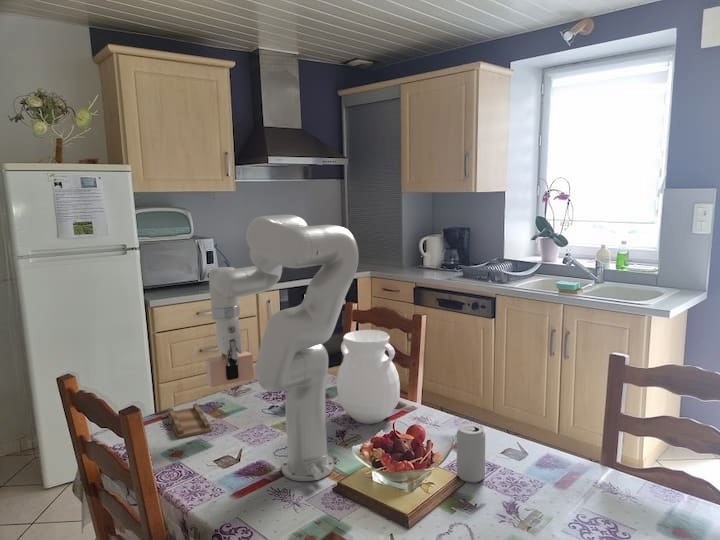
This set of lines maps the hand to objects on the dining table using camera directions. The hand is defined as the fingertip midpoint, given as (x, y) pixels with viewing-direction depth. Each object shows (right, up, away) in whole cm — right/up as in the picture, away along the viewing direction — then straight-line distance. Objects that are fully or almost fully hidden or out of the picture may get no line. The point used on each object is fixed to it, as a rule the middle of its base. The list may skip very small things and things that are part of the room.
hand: (230, 375), depth 149 cm
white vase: (+39, -14, +9) cm, 42 cm away
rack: (-14, -15, +8) cm, 22 cm away
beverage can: (+62, -19, -25) cm, 69 cm away
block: (0, -1, 0) cm, 2 cm away
